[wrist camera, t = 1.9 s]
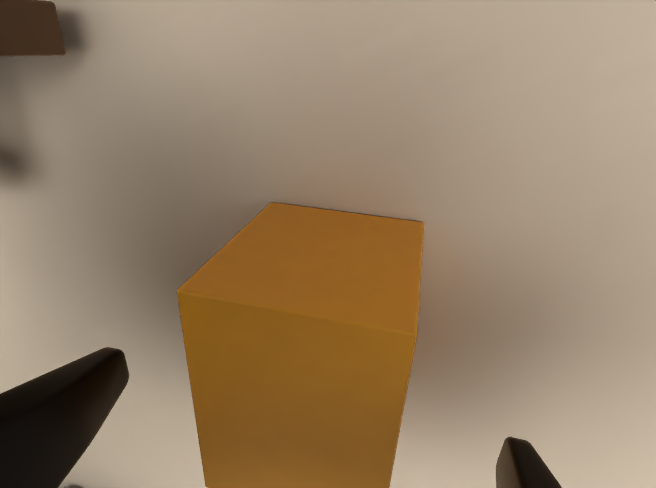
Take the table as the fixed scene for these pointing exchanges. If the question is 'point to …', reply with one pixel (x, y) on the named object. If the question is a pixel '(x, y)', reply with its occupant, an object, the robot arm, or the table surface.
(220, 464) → the orange rectangular block
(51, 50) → the drawer
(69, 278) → the table surface
